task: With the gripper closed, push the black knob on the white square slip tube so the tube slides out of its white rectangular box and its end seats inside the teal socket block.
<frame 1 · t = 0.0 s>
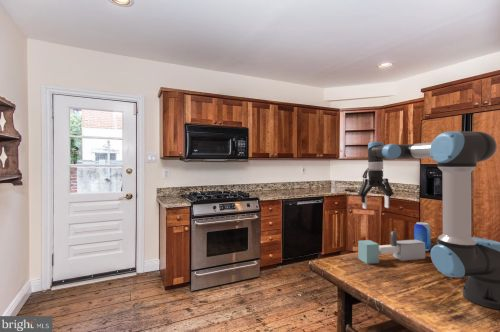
hand: (375, 208, 151), 28 cm above the table, fingers open, 13 cm apart
beer can: (422, 249, 166), on the table
white rectangular box: (408, 257, 152), on the table
socket block: (368, 260, 148), on the table
slip tube: (398, 241, 151), point 9 cm above the table, slide at 0.0 cm
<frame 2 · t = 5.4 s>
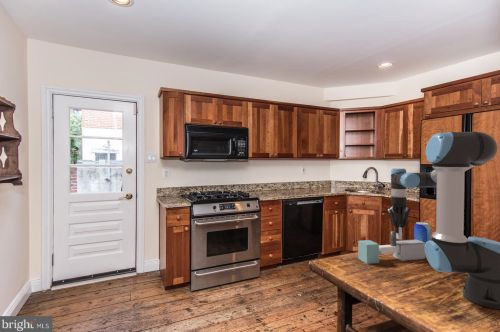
hand: (398, 238, 151), 11 cm above the table, fingers closed
slip tube: (398, 241, 151), point 9 cm above the table, slide at 0.2 cm, touching gripper
everything else where it was.
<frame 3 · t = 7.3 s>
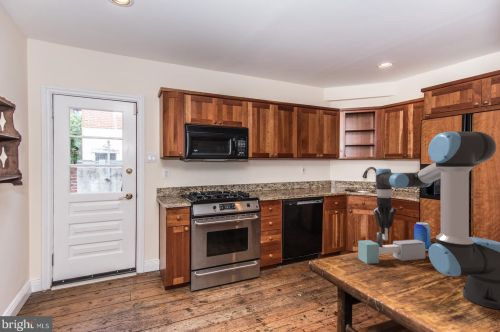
hand: (385, 239, 150), 11 cm above the table, fingers closed
slip tube: (384, 242, 150), point 9 cm above the table, slide at 8.7 cm, touching gripper
everything else where it was.
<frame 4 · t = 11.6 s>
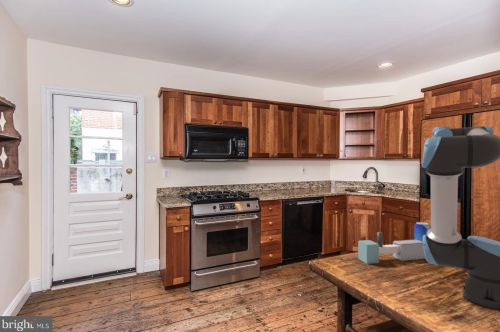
hand: (442, 202, 142), 32 cm above the table, fingers closed
slip tube: (384, 242, 150), point 9 cm above the table, slide at 8.5 cm
everything else where it was.
at the end: slip tube slide at 8.5 cm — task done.
